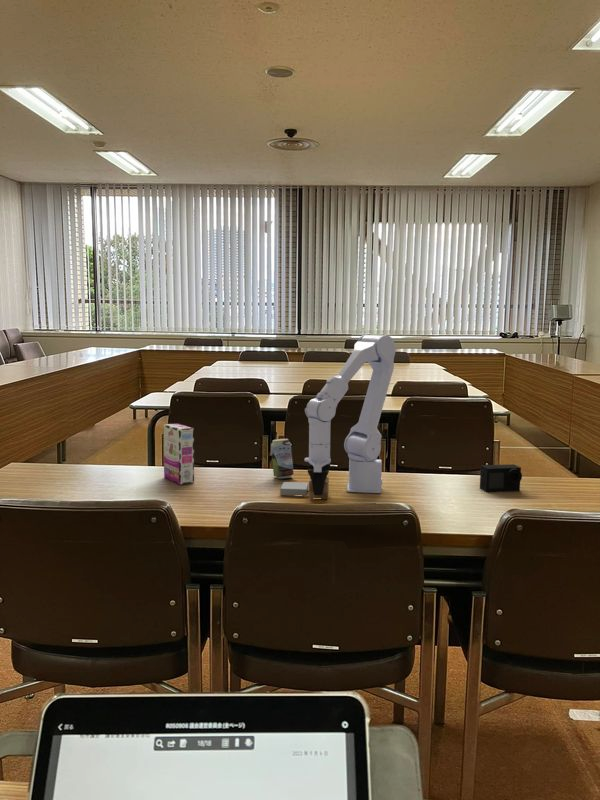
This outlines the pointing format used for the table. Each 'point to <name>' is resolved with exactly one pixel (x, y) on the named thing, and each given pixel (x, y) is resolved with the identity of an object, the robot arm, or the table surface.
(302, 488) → the plinth
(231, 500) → the table surface
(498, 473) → the digital camera
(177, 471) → the candy bar box
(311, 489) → the walnut block
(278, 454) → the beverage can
